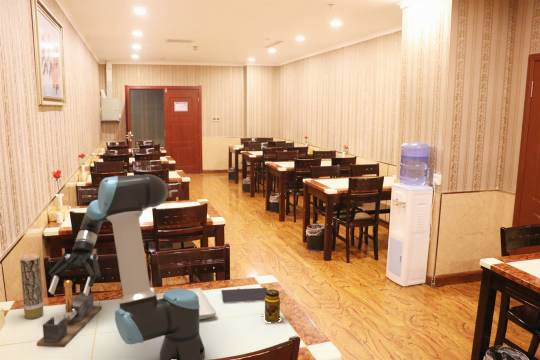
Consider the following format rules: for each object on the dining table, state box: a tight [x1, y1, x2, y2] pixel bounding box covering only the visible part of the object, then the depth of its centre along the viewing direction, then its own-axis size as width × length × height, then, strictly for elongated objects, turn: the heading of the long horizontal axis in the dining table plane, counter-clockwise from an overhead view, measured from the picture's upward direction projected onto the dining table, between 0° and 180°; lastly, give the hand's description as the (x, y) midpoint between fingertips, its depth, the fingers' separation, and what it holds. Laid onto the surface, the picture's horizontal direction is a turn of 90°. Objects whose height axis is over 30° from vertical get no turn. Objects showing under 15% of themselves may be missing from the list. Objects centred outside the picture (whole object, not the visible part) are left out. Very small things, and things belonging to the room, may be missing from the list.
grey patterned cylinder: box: [19, 253, 44, 320], centre depth 178 cm, size 7×7×25 cm
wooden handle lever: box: [63, 279, 77, 321], centre depth 176 cm, size 18×3×16 cm, turn 176°
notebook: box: [221, 287, 269, 304], centre depth 201 cm, size 13×2×21 cm
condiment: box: [261, 289, 284, 324], centre depth 180 cm, size 7×8×12 cm
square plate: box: [155, 287, 217, 320], centre depth 186 cm, size 27×27×4 cm
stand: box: [36, 292, 103, 348], centre depth 172 cm, size 30×10×8 cm, turn 176°
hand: (68, 293), depth 170 cm, fingers open, 13 cm apart
